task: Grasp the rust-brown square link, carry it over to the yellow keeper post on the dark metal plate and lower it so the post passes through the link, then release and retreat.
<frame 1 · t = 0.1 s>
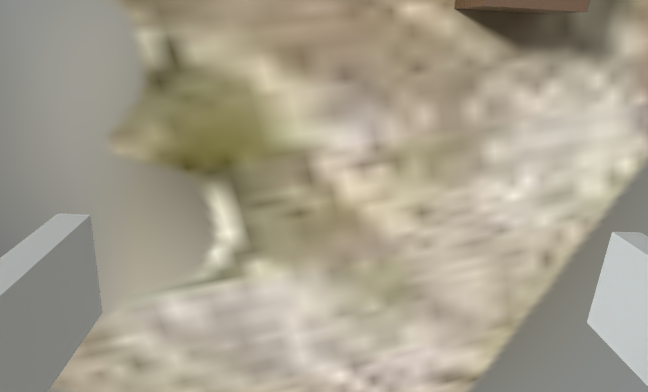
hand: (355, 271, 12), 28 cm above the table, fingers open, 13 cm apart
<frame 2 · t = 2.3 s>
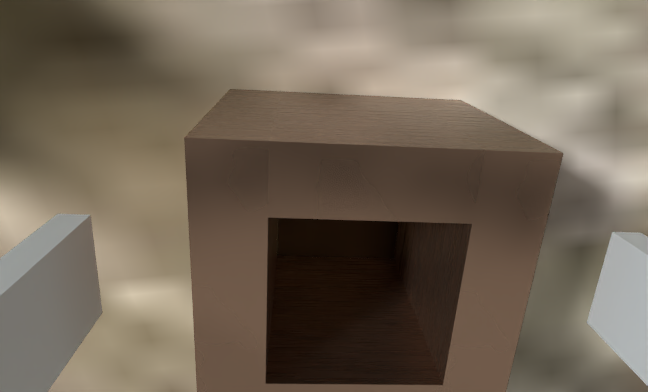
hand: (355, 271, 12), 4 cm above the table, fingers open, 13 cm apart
link: (339, 202, 15), on the table
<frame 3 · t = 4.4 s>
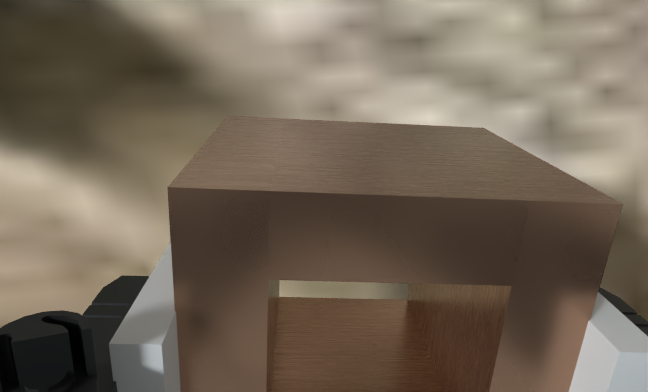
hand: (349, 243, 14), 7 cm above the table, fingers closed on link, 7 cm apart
link: (348, 239, 14), point 6 cm above the table, touching gripper
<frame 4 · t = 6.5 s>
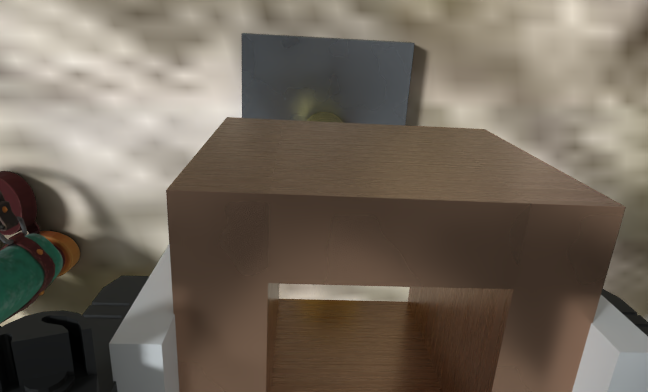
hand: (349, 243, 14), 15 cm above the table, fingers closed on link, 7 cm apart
keeper: (323, 129, 27), on the table
link: (348, 241, 14), point 14 cm above the table, touching gripper
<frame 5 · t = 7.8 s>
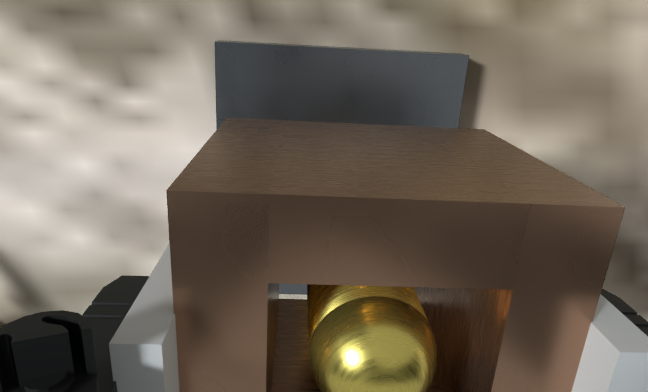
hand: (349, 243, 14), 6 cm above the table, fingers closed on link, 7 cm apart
keeper: (333, 175, 19), on the table
link: (348, 241, 14), point 6 cm above the table, touching gripper
when the fingers open (3 cm above the table, at t = 8.9 s): link drops 1 cm, resting on keeper.
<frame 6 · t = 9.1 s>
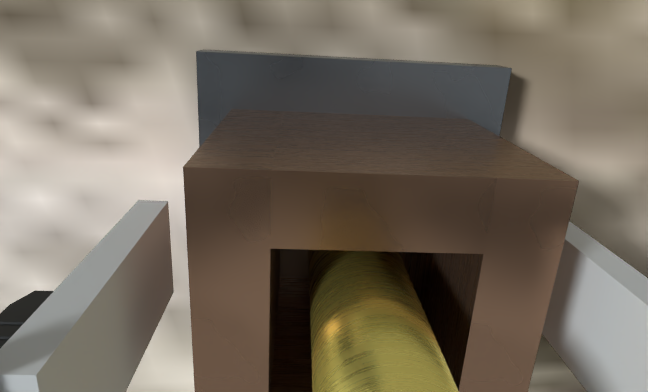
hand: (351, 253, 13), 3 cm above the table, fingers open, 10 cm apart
keeper: (342, 210, 16), on the table
link: (344, 223, 15), point 1 cm above the table, touching keeper
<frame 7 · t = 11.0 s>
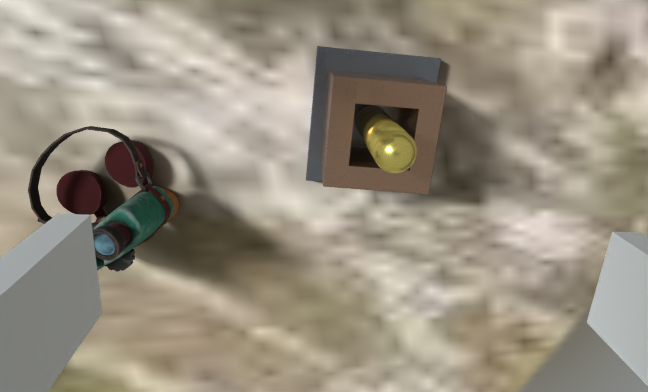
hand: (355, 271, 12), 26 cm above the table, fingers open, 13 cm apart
keeper: (369, 119, 37), on the table
binoculars: (116, 184, 38), on the table
link: (370, 122, 36), point 1 cm above the table, touching keeper
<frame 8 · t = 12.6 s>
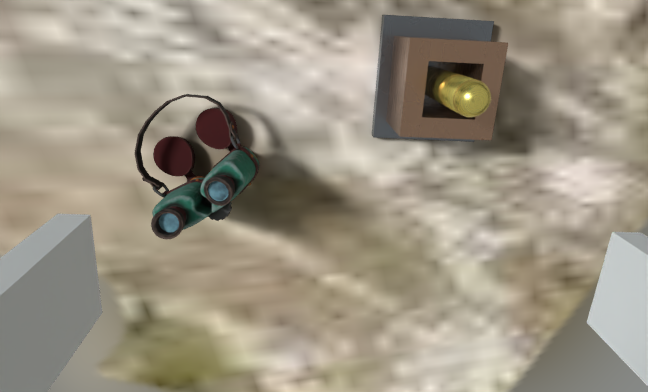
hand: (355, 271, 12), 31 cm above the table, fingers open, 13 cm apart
keeper: (428, 80, 41), on the table
binoculars: (202, 148, 42), on the table
link: (431, 81, 40), point 1 cm above the table, touching keeper
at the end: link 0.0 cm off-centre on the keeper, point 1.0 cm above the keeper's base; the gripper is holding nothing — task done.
